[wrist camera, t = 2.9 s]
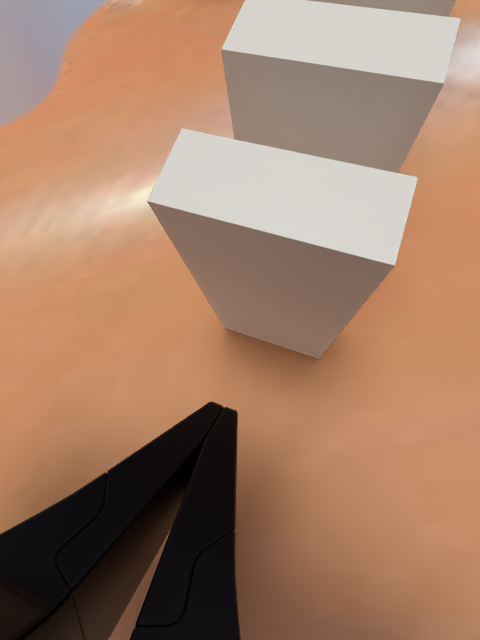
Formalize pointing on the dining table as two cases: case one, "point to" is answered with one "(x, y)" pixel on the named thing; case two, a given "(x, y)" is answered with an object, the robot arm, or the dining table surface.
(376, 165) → the domino
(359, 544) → the dining table surface
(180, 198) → the domino
